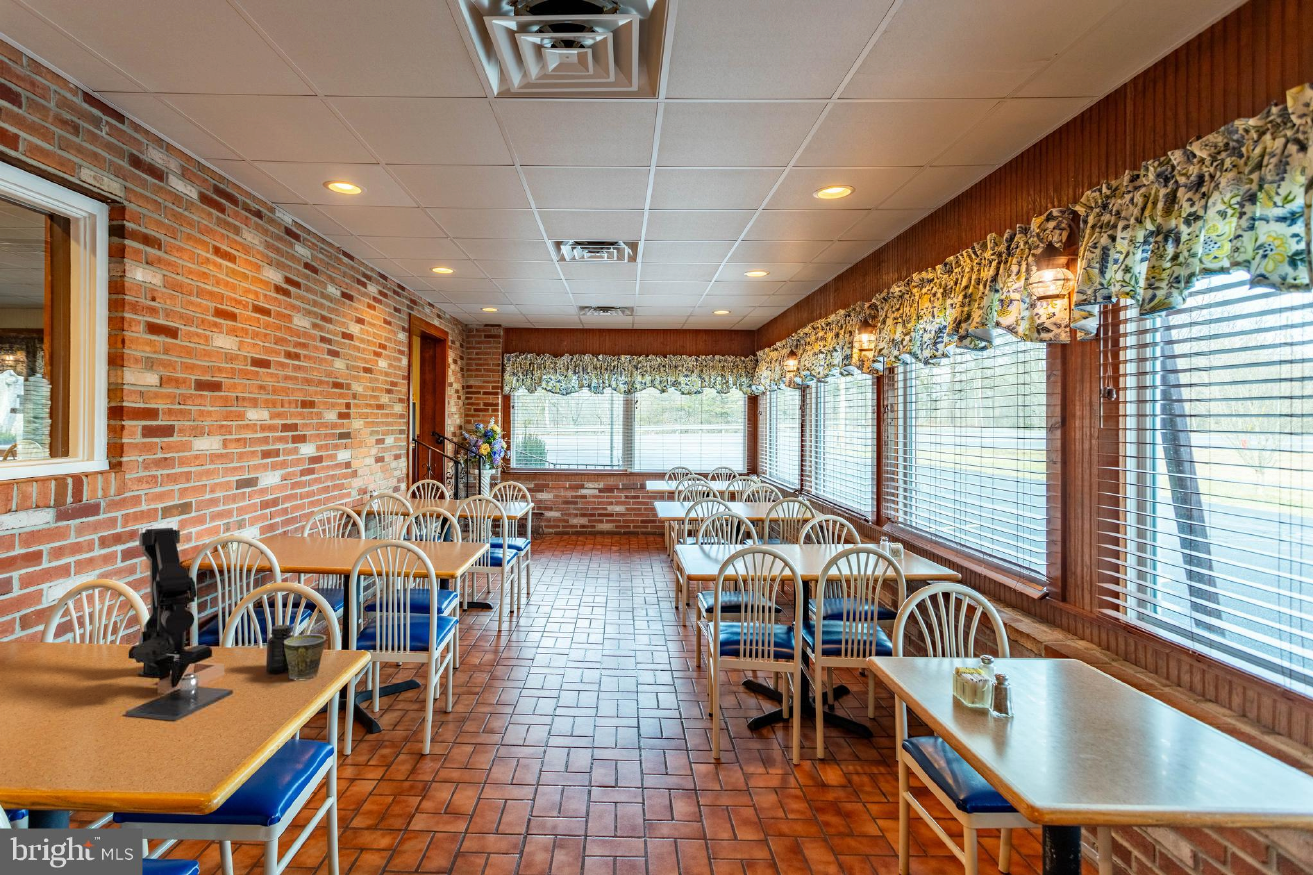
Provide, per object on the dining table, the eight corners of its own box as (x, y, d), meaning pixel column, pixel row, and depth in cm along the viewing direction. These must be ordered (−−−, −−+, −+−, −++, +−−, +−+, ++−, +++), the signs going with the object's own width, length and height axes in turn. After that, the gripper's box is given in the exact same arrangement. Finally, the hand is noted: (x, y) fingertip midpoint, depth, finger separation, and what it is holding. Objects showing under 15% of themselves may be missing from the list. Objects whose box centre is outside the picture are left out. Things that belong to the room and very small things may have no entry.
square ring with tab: (146, 691, 159) (146, 679, 159) (194, 672, 173) (194, 661, 173) (178, 694, 158) (178, 682, 158) (224, 674, 171) (224, 663, 171)
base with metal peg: (125, 715, 145) (126, 688, 145) (186, 689, 161) (187, 664, 161) (175, 721, 144) (176, 692, 144) (232, 693, 159) (233, 668, 159)
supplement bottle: (299, 666, 179) (301, 623, 179) (283, 675, 172) (285, 631, 173) (277, 665, 180) (278, 622, 180) (259, 673, 173) (261, 629, 173)
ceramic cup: (286, 671, 175) (287, 635, 175) (327, 668, 179) (328, 632, 179) (276, 689, 163) (278, 650, 163) (320, 685, 167) (321, 646, 167)
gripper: (107, 630, 154) (105, 695, 154) (176, 636, 151) (173, 702, 151) (150, 618, 165) (148, 678, 165) (214, 623, 162) (212, 684, 162)
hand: (169, 686), depth 160 cm, fingers closed on square ring with tab, 2 cm apart
